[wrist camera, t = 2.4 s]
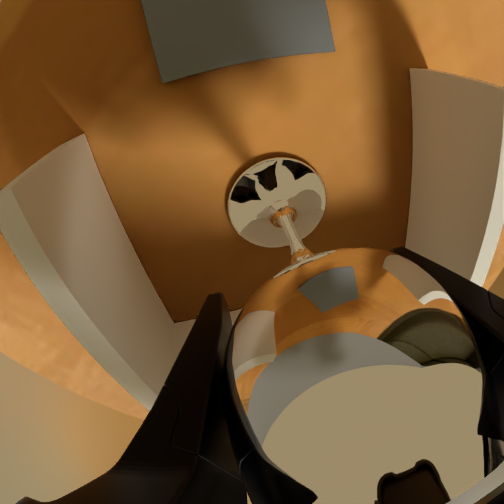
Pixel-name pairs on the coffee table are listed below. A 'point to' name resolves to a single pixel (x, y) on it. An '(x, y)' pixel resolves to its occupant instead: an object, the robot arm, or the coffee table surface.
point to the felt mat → (232, 32)
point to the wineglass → (349, 366)
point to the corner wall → (174, 334)
